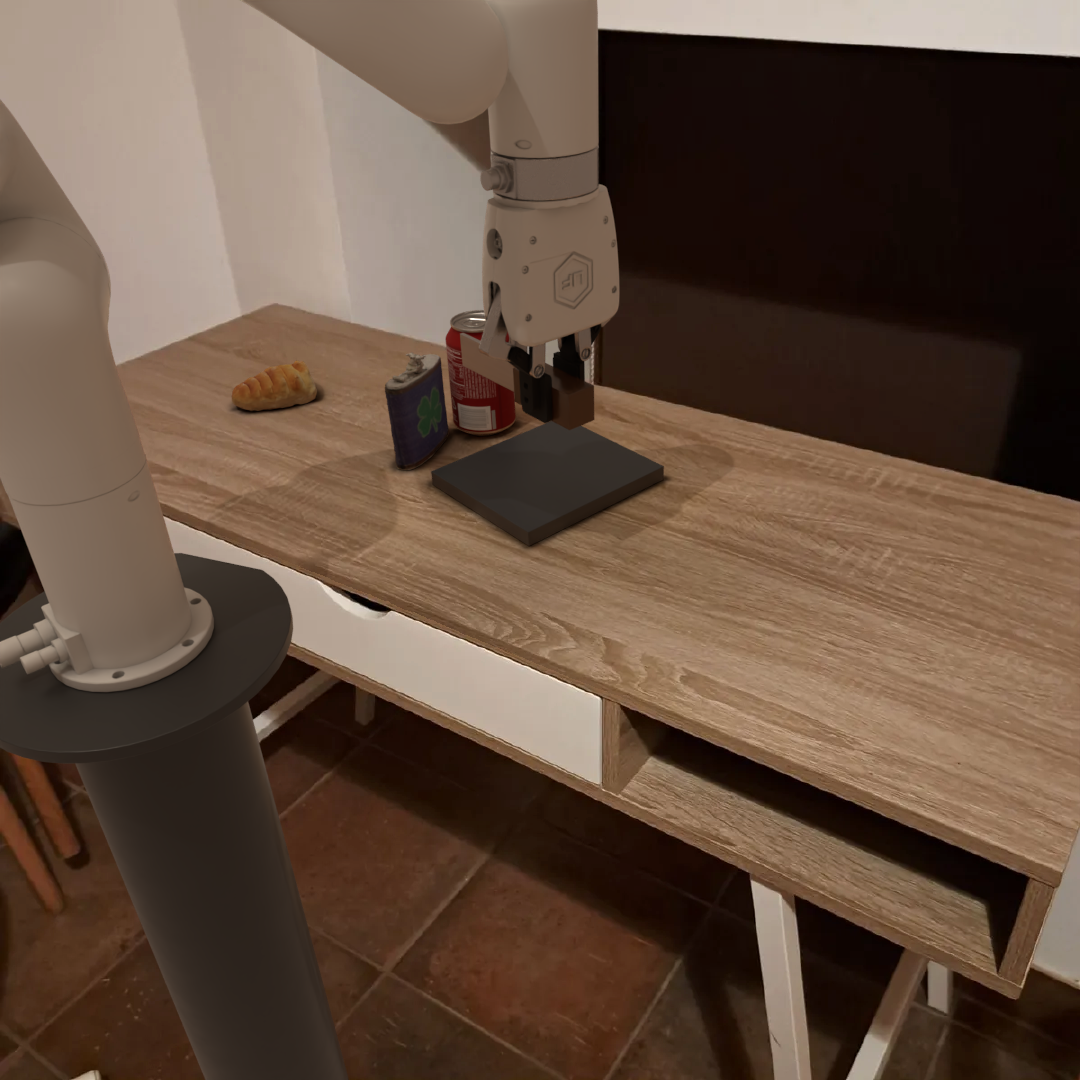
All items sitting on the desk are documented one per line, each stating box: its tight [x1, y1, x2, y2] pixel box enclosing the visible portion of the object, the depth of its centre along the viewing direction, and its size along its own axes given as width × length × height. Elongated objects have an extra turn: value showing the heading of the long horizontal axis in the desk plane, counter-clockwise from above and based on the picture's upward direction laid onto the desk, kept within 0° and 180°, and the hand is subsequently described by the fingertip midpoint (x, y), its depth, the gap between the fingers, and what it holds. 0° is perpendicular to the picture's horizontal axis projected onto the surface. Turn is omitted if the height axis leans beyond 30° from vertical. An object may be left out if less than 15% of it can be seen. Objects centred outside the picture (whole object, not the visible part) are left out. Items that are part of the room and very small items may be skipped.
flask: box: [384, 351, 449, 471], centre depth 102 cm, size 9×3×11 cm, turn 157°
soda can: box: [445, 309, 517, 437], centre depth 106 cm, size 7×7×12 cm
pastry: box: [231, 359, 318, 412], centre depth 116 cm, size 9×7×4 cm
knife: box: [460, 333, 595, 430], centre depth 83 cm, size 16×3×3 cm, turn 39°
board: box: [430, 421, 665, 547], centre depth 98 cm, size 17×15×2 cm
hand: (553, 408), depth 81 cm, fingers closed on knife, 2 cm apart
